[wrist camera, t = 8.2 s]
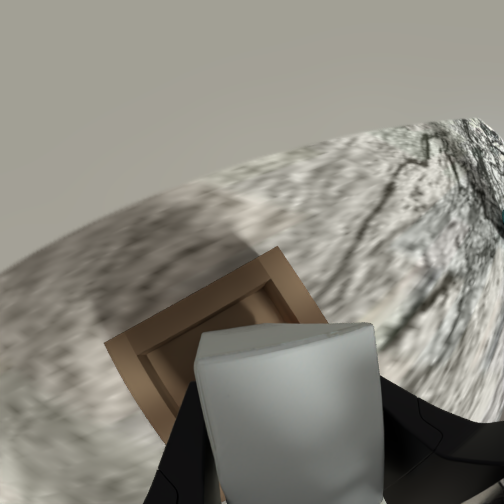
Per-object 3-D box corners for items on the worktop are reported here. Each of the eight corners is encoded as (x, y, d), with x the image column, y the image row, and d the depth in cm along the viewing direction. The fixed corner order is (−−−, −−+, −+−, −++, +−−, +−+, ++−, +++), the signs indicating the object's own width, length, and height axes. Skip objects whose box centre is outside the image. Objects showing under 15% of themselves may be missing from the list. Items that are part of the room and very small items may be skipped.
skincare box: (281, 406, 16) (386, 506, 4) (217, 418, 15) (240, 553, 3) (267, 319, 17) (380, 317, 6) (199, 329, 16) (183, 359, 5)
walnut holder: (351, 393, 18) (376, 399, 14) (215, 480, 14) (217, 503, 11) (266, 263, 20) (277, 245, 17) (121, 344, 17) (103, 342, 13)
